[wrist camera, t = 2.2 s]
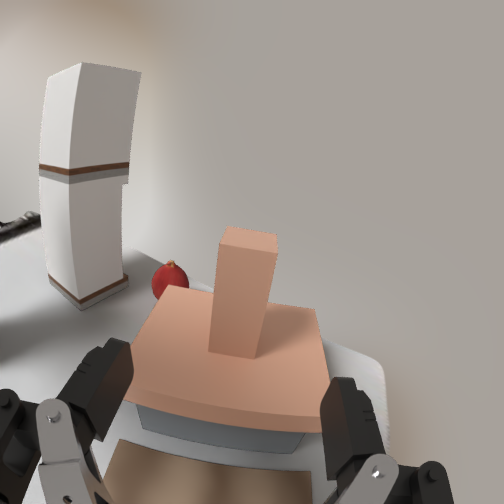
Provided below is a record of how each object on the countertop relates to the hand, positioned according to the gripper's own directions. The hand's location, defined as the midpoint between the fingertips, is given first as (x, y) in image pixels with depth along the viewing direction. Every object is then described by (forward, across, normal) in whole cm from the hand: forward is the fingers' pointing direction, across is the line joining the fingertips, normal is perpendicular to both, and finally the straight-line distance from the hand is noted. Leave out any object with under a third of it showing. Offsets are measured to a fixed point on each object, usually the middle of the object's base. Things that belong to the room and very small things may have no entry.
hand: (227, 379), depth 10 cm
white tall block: (+28, +27, +18) cm, 43 cm away
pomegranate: (+28, +11, +18) cm, 35 cm away
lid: (+12, 0, +11) cm, 17 cm away
